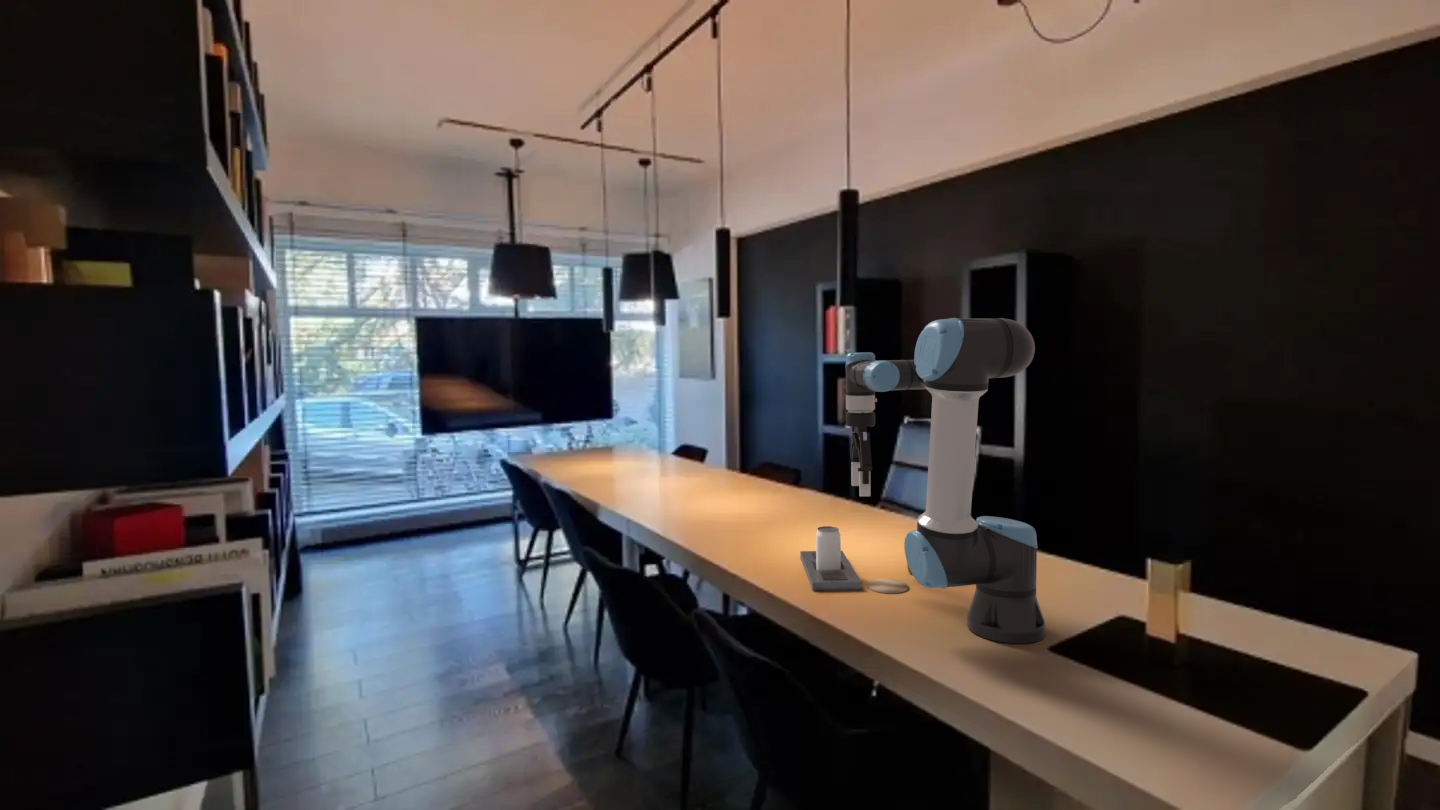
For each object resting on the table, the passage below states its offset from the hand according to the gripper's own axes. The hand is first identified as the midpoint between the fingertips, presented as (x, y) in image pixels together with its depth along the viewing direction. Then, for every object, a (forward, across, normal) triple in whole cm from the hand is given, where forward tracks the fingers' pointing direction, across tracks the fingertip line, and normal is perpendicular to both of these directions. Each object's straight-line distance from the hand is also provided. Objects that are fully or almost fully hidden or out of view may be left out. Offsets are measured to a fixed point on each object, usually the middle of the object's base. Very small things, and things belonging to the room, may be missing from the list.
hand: (860, 490), depth 184 cm
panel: (+22, -1, +9) cm, 24 cm away
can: (+22, -1, +9) cm, 24 cm away
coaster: (+22, -13, -5) cm, 26 cm away
